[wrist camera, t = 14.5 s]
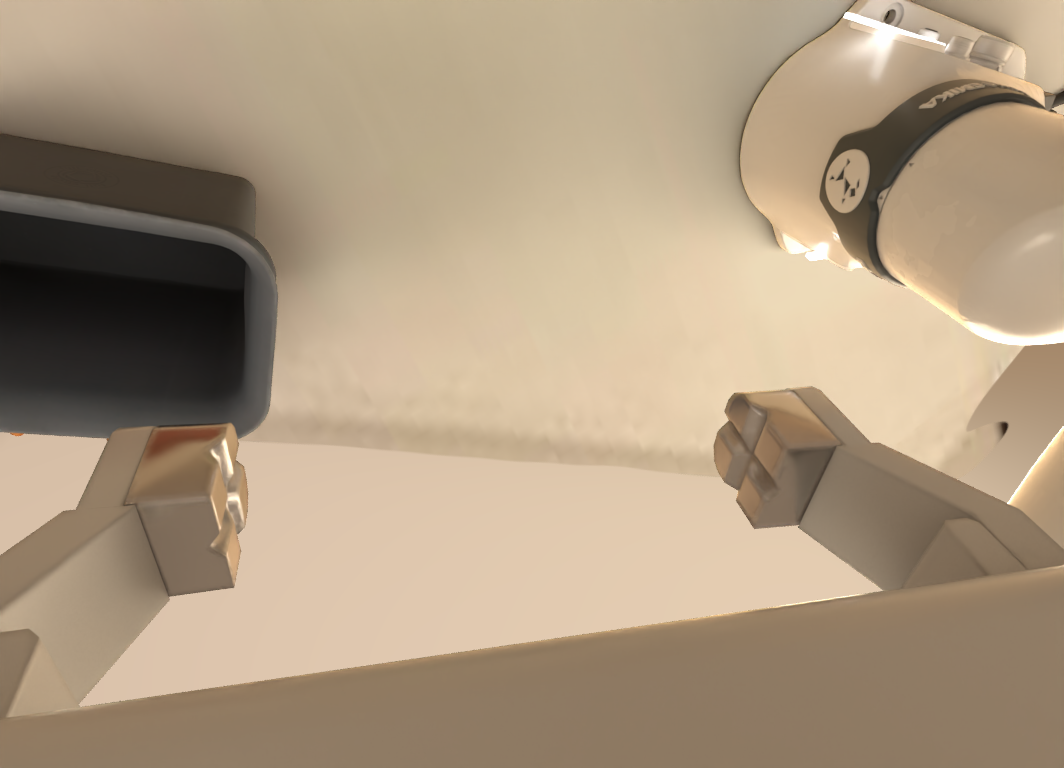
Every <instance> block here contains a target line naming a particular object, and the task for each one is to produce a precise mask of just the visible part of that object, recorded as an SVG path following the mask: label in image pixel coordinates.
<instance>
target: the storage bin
mask: <svg viewBox="0 0 1064 768" xmlns="http://www.w3.org/2000/svg"><path fill="white" fill-rule="evenodd" d="M255 210H256V200H255V189H254V187H253V185H252V184H251V183H250V182H249V181H247V180H246V179H244V178H241V177H237V176H232V175H226V174H220V173H215V172H209V171H203V170H198V169H192V168H186V167H181V166H175V165H170V164H165V163H159V162H154V161H148V160H143V159H138V158H132V157H127V156H121V155H116V154H110V153H105V152H99V151H94V150H88V149H83V148H77V147H71V146H66V145H60V144H54V143H49V142H43V141H38V140H32V139H26V138H21V137H15V136H10V135H5V134H0V432H8V433H10V434H12V435H15V436H21V435H23V434H40V435H41V434H42V435H57V436H76V437H92V438H107V441H108V439H109V437H110V435H111V434H112V433H113V432H114V431H115V430H117V429H118V428H124V427H144V426H156V427H157V426H159V425H184V424H209V423H231V424H232V425H233V426H234V427H235V431H236V435H237V438H238V439H239V438H242V437H244V436H246V435H248V434H249V433H251V432H252V431H254V430H255V429H256V428H258V426H259V425H260V424H261V423H262V422H263V421H264V419H265V417H266V415H267V414H268V412H269V407H270V398H271V386H272V373H273V361H274V350H275V337H276V324H277V305H278V292H277V284H276V271H275V266H274V263H273V261H272V259H271V256H270V255H269V253H268V252H267V250H266V249H265V248H264V247H263V245H262V244H261V243H260V242H259V241H258V240H257V239H255Z"/></svg>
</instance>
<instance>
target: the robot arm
mask: <svg viewBox="0 0 1064 768" xmlns="http://www.w3.org/2000/svg"><path fill="white" fill-rule="evenodd" d="M888 11H889V16H888V18H887V19H886V20H885V21H884V17H885V14H886V13H887V12H888ZM1025 69H1026V53H1025V50H1024V49H1023V48H1022V47H1020V46H1018V45H1016V44H1015V43H1012V42H1009V41H1006V40H1004V39H1001V38H999V37H996V36H994V35H991V34H989V33H986V32H984V31H982V30H979V29H977V28H974V27H972V26H969V25H967V24H964V23H962V22H959V21H957V20H955V19H952V18H950V17H947V16H945V15H942V14H940V13H937V12H935V11H932V10H930V9H928V8H925V7H923V6H920V5H918V4H915V3H913V2H910V1H908V0H857V1H856V2H855V4H854V5H853V6H852V7H851V8H850V9H849V10H848V11H847V12H846V13H845V15H844V16H843V17H842V18H841V20H840V21H839V22H838V23H837V24H836V25H835V26H834V27H833V28H832V29H830V30H829V31H827V32H826V33H825V34H823V35H821V36H820V37H818V38H816V39H815V40H813V41H811V42H810V43H808V44H807V45H805V46H804V47H802V48H801V49H800V50H798V51H797V52H796V53H795V54H793V55H792V56H791V57H790V58H789V59H788V60H787V61H786V62H785V63H784V64H783V65H782V66H781V67H780V68H779V69H778V70H777V71H776V72H775V74H774V75H773V76H772V77H771V79H770V80H769V81H768V83H767V84H766V85H765V87H764V88H763V90H762V92H761V93H760V95H759V97H758V98H757V100H756V102H755V104H754V106H753V108H752V110H751V113H750V115H749V117H748V120H747V123H746V126H745V129H744V133H743V137H742V143H741V150H740V171H741V177H742V182H743V185H744V188H745V191H746V193H747V195H748V197H749V199H750V200H751V202H752V203H753V205H754V206H755V207H756V208H757V209H758V210H759V211H760V212H761V213H762V214H763V215H764V216H765V217H767V219H768V220H769V221H770V222H771V224H772V226H773V229H774V233H775V236H776V239H777V242H778V244H779V246H780V247H781V248H782V249H784V250H786V251H787V252H789V253H792V254H796V253H802V252H807V251H813V252H810V253H807V254H806V257H807V258H808V259H809V260H811V261H812V260H818V259H826V260H828V261H829V262H831V263H833V264H835V265H836V266H838V267H840V268H842V269H844V270H849V271H851V270H853V269H854V268H861V267H864V268H865V269H866V270H868V271H869V272H871V273H872V274H874V275H875V276H877V277H879V278H881V279H884V280H886V281H888V282H890V283H892V284H894V285H896V286H899V287H902V288H908V289H912V290H913V291H915V292H916V293H917V294H919V295H920V296H922V297H923V298H924V299H926V300H927V301H929V302H930V303H932V304H933V305H934V306H936V307H937V308H939V309H940V310H941V311H943V312H944V313H946V314H947V315H949V316H950V317H952V318H953V319H954V320H956V321H957V322H959V323H960V324H962V325H963V326H964V327H966V328H967V329H969V330H970V331H972V332H973V333H975V334H976V335H979V336H981V337H983V338H986V339H989V340H992V341H996V342H1000V343H1006V344H1014V345H1035V344H1050V343H1058V342H1064V115H1061V114H1057V113H1056V111H1054V110H1052V109H1051V108H1054V107H1056V106H1059V105H1061V104H1064V92H1062V93H1059V94H1057V95H1055V94H1051V93H1048V92H1044V91H1043V90H1042V88H1041V87H1040V86H1038V85H1035V84H1032V83H1030V82H1027V81H1024V77H1025ZM724 412H725V414H726V416H727V418H728V420H729V421H728V422H727V423H726V424H725V425H724V426H723V427H722V428H721V429H720V430H719V431H718V432H717V436H716V440H715V443H714V461H715V464H716V467H717V470H718V472H719V474H720V476H721V477H722V479H723V481H724V482H725V483H727V484H728V485H730V486H731V487H733V488H735V489H736V490H738V494H737V499H736V501H737V503H738V504H739V506H740V508H741V509H742V511H743V512H744V514H745V515H746V517H747V518H748V520H749V521H750V523H751V525H752V526H753V528H754V529H758V528H770V527H782V526H792V525H793V526H794V525H799V526H798V528H800V529H801V530H802V531H804V532H805V533H806V534H808V535H809V536H811V537H812V538H813V539H814V540H816V541H817V542H819V543H820V544H821V545H823V546H824V547H825V548H827V549H828V550H829V551H831V552H832V553H833V554H835V555H836V556H837V557H839V558H840V559H841V560H843V561H844V562H846V563H847V564H848V565H849V566H851V567H852V568H854V569H855V570H856V571H858V572H859V573H860V574H862V575H863V576H864V577H866V578H867V579H868V580H870V581H871V582H872V583H874V584H875V585H876V586H878V587H879V588H881V589H882V590H883V591H881V592H873V593H867V594H859V595H852V596H846V597H839V598H832V599H825V600H818V601H811V602H804V603H797V604H791V605H783V606H777V607H769V608H762V609H755V610H748V611H742V612H735V613H728V614H721V615H714V616H707V617H700V618H693V619H687V620H679V621H672V622H666V623H658V624H652V625H645V626H638V627H631V628H624V629H617V630H610V631H604V632H596V633H589V634H582V635H576V636H569V637H562V638H555V639H548V640H541V641H534V642H527V643H521V644H513V645H507V646H499V647H492V648H485V649H478V650H472V651H465V652H458V653H451V654H444V655H437V656H430V657H423V658H417V659H409V660H402V661H395V662H389V663H382V664H375V665H368V666H361V667H354V668H347V669H340V670H333V671H326V672H320V673H313V674H305V675H299V676H292V677H285V678H278V679H271V680H264V681H258V682H250V683H244V684H237V685H230V686H223V687H216V688H209V689H202V690H195V691H188V692H182V693H175V694H167V695H161V696H154V697H147V698H140V699H133V700H126V701H119V702H112V703H105V704H98V705H91V706H85V707H80V706H79V703H80V702H81V701H82V700H83V699H84V698H85V696H86V695H87V694H88V693H89V692H90V691H91V690H92V688H93V687H94V686H95V685H96V684H97V682H99V680H100V679H101V678H102V677H103V676H104V675H105V674H106V672H107V671H108V670H109V669H110V668H111V667H112V666H113V664H114V663H115V662H116V661H117V660H118V659H119V658H120V656H121V655H122V654H123V653H124V652H125V651H126V649H127V648H128V647H129V646H130V645H131V644H132V643H133V641H134V640H135V639H136V638H137V637H138V636H139V634H140V633H141V632H142V631H143V630H144V629H145V628H146V626H147V625H148V624H149V623H150V622H151V620H153V618H154V617H155V616H156V615H157V614H158V613H159V612H160V610H161V609H162V608H163V607H164V606H165V605H166V603H167V602H168V601H169V596H176V595H184V594H191V593H198V592H206V591H213V590H220V589H227V588H234V586H235V581H236V575H237V570H238V564H239V559H240V553H241V549H240V545H239V540H238V536H237V534H239V533H240V532H241V531H242V530H243V529H244V528H245V525H246V518H247V512H248V488H247V479H246V474H245V469H244V466H243V465H242V464H240V463H239V462H238V461H236V456H237V451H238V446H239V442H238V438H237V435H236V431H235V427H234V426H233V425H232V424H231V423H209V424H184V425H159V426H157V427H156V426H144V427H124V428H118V429H117V430H115V431H114V432H113V433H112V434H111V435H110V437H109V439H108V441H107V444H106V446H105V448H104V450H103V452H102V455H101V456H100V459H99V461H98V463H97V465H96V467H95V470H94V472H93V474H92V476H91V478H90V480H89V482H88V484H87V487H86V489H85V491H84V493H83V495H82V497H81V499H80V502H79V504H78V506H77V508H76V510H69V511H63V512H61V513H60V514H58V515H57V516H56V517H54V518H53V519H52V520H50V521H48V522H47V523H46V524H44V525H43V526H41V527H40V528H39V529H37V530H36V531H35V532H33V533H31V534H30V535H29V536H27V537H26V538H24V539H23V540H22V541H20V542H19V543H17V544H16V545H14V546H13V547H11V548H10V549H9V550H7V551H6V552H4V553H3V554H1V555H0V768H1064V427H1062V428H1061V430H1060V431H1059V433H1058V434H1057V435H1056V436H1055V438H1054V439H1053V440H1052V442H1051V443H1050V444H1049V446H1048V447H1047V448H1046V450H1045V451H1044V452H1043V454H1042V455H1041V456H1040V458H1039V459H1038V460H1037V462H1036V463H1035V464H1034V466H1033V467H1032V468H1031V470H1030V471H1029V473H1028V474H1027V475H1026V477H1025V478H1024V480H1023V481H1022V483H1021V484H1020V486H1019V488H1018V489H1017V490H1016V492H1015V493H1014V495H1013V496H1012V498H1011V499H1010V501H1009V502H1008V503H1005V502H1003V501H1001V500H999V499H997V498H995V497H993V496H990V495H988V494H986V493H984V492H982V491H980V490H978V489H975V488H974V487H971V486H969V485H967V484H965V483H963V482H961V481H959V480H957V479H955V478H952V477H950V476H948V475H946V474H944V473H942V472H940V471H938V470H935V469H933V468H931V467H929V466H927V465H925V464H923V463H921V462H919V461H916V460H914V459H912V458H910V457H908V456H906V455H904V454H902V453H900V452H897V451H895V450H893V449H891V448H889V447H887V446H885V445H883V444H881V443H871V442H870V441H869V440H868V439H867V438H866V437H865V436H864V435H863V434H862V433H861V432H860V431H859V430H858V429H857V428H856V427H855V426H854V425H853V424H852V423H851V422H850V421H849V420H848V419H847V417H846V416H845V415H844V414H843V413H842V412H841V411H840V410H839V409H838V408H837V407H836V406H835V405H834V404H833V403H832V402H831V401H830V400H829V399H828V398H827V397H826V396H825V395H824V394H823V392H822V391H821V390H819V389H817V388H814V387H812V386H811V387H799V388H788V389H785V390H771V391H755V392H740V393H734V394H733V395H732V396H731V398H730V399H729V400H728V403H727V406H726V408H725V411H724Z"/></svg>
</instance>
